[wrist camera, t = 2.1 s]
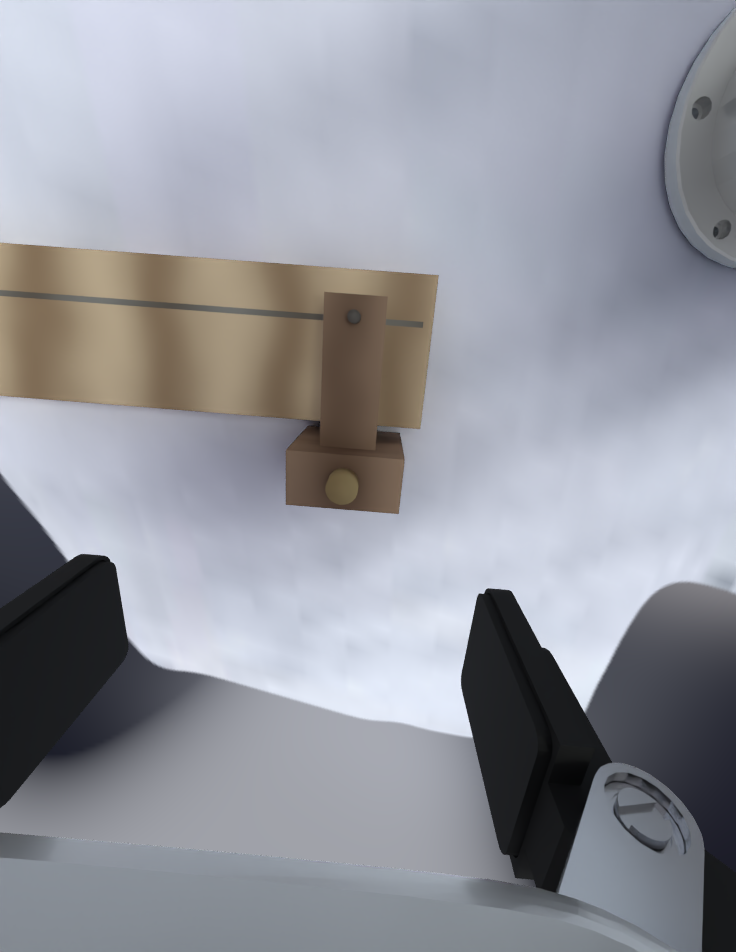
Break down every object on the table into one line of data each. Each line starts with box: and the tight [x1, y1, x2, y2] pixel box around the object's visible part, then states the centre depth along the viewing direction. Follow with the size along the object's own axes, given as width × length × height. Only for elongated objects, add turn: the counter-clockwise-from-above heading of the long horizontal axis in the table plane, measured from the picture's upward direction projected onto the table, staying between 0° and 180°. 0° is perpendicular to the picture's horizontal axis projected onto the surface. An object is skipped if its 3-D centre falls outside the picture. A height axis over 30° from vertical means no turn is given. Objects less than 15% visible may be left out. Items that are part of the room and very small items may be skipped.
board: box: [0, 243, 439, 429], centre depth 22 cm, size 28×8×2 cm, turn 86°
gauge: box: [286, 292, 404, 514], centre depth 21 cm, size 6×11×7 cm, turn 176°
